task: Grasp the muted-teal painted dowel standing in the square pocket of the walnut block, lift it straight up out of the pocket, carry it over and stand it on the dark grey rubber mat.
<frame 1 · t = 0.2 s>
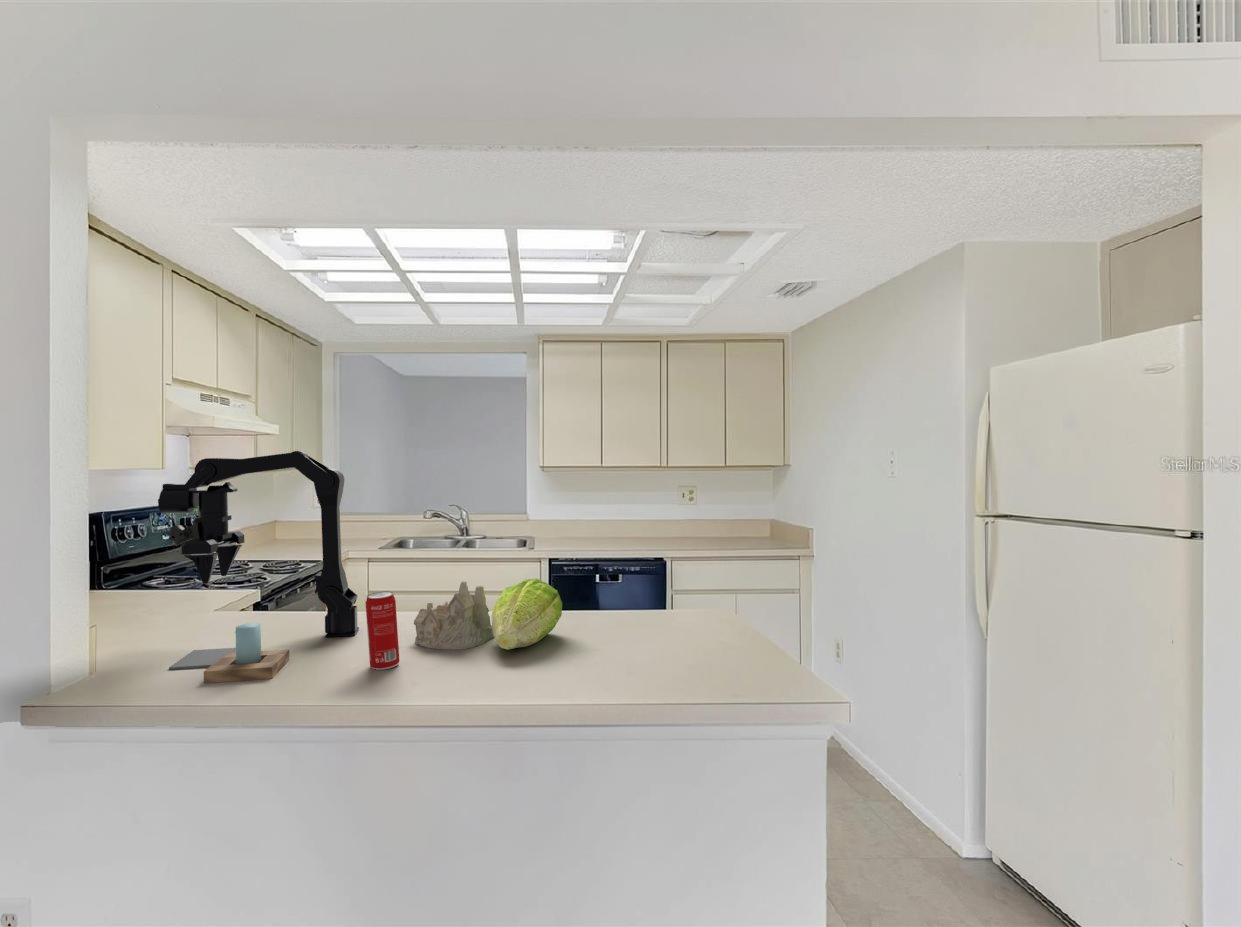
hand: (215, 579, 155), 14 cm above the table, fingers open, 9 cm apart
mat: (213, 658, 142), on the table
lettuce: (523, 644, 153), on the table
peg: (248, 648, 134), in the pocket block
pocket block: (248, 670, 134), on the table
ceramic cottage: (456, 640, 157), on the table
beverage can: (383, 667, 137), on the table
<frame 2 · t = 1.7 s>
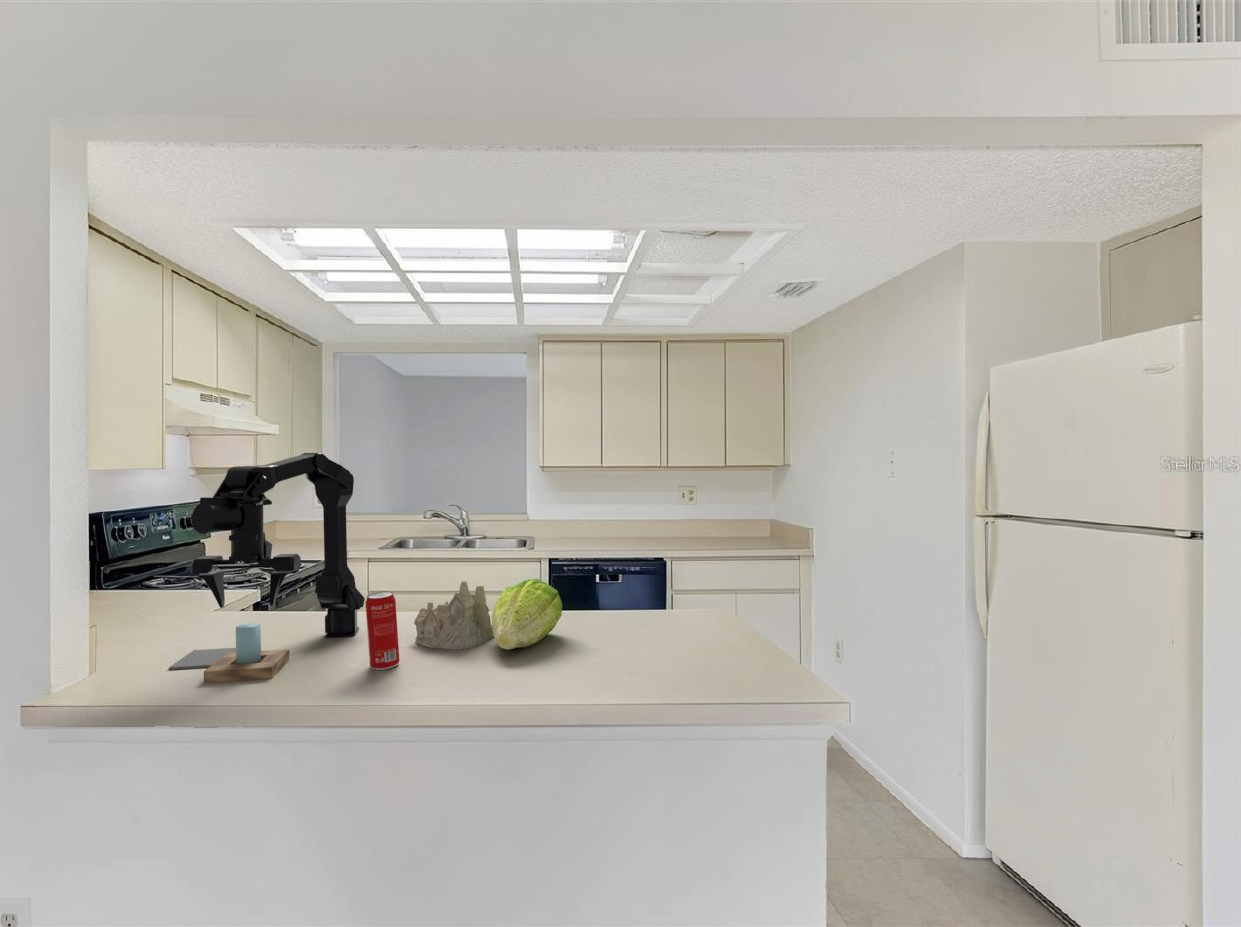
hand: (247, 606, 135), 13 cm above the table, fingers open, 9 cm apart
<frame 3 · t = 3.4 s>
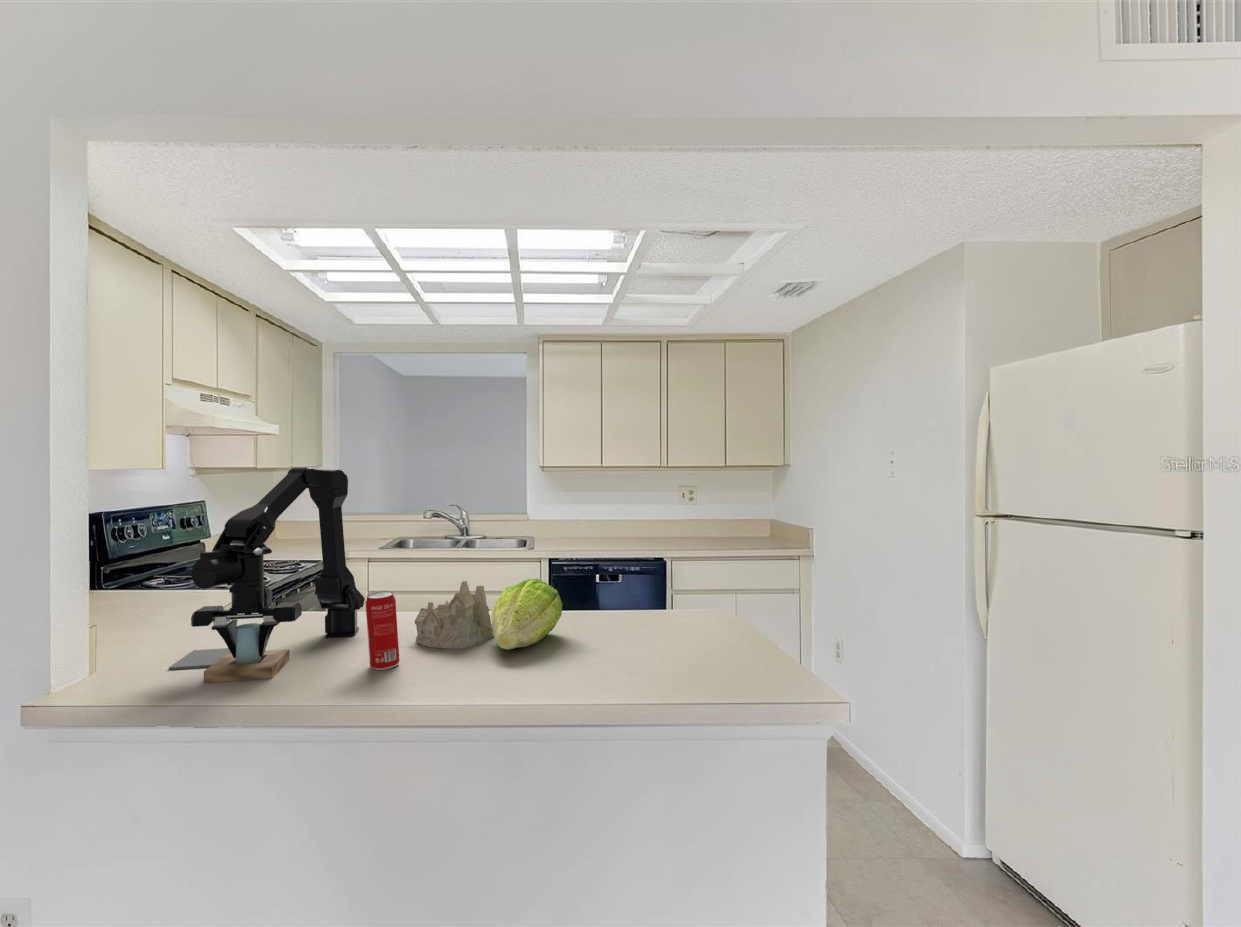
hand: (248, 656, 134), 3 cm above the table, fingers closed on peg, 4 cm apart
peg: (248, 648, 134), in the pocket block, touching gripper
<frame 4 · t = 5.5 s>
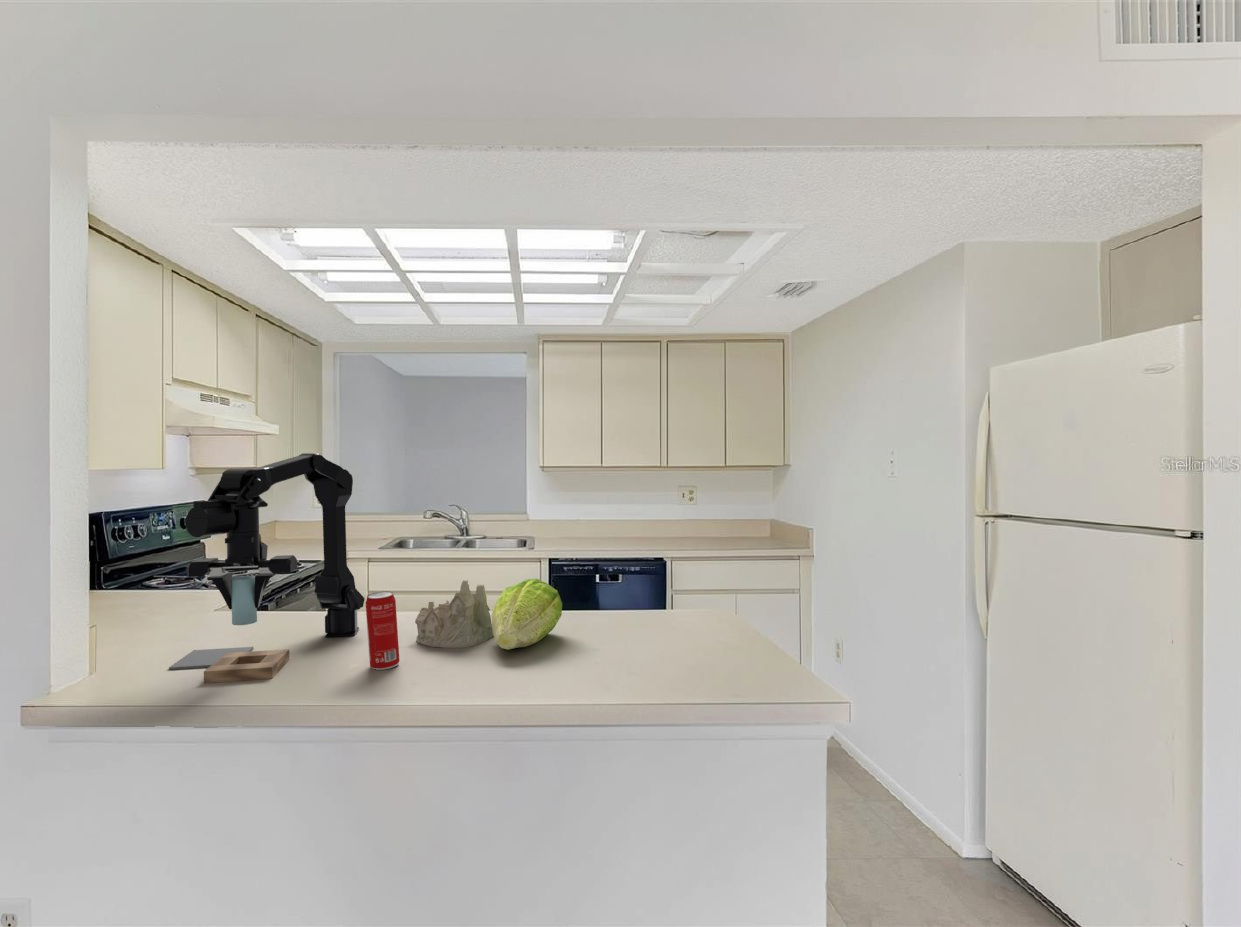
hand: (244, 608, 135), 12 cm above the table, fingers closed on peg, 4 cm apart
peg: (244, 600, 135), point 14 cm above the table, touching gripper
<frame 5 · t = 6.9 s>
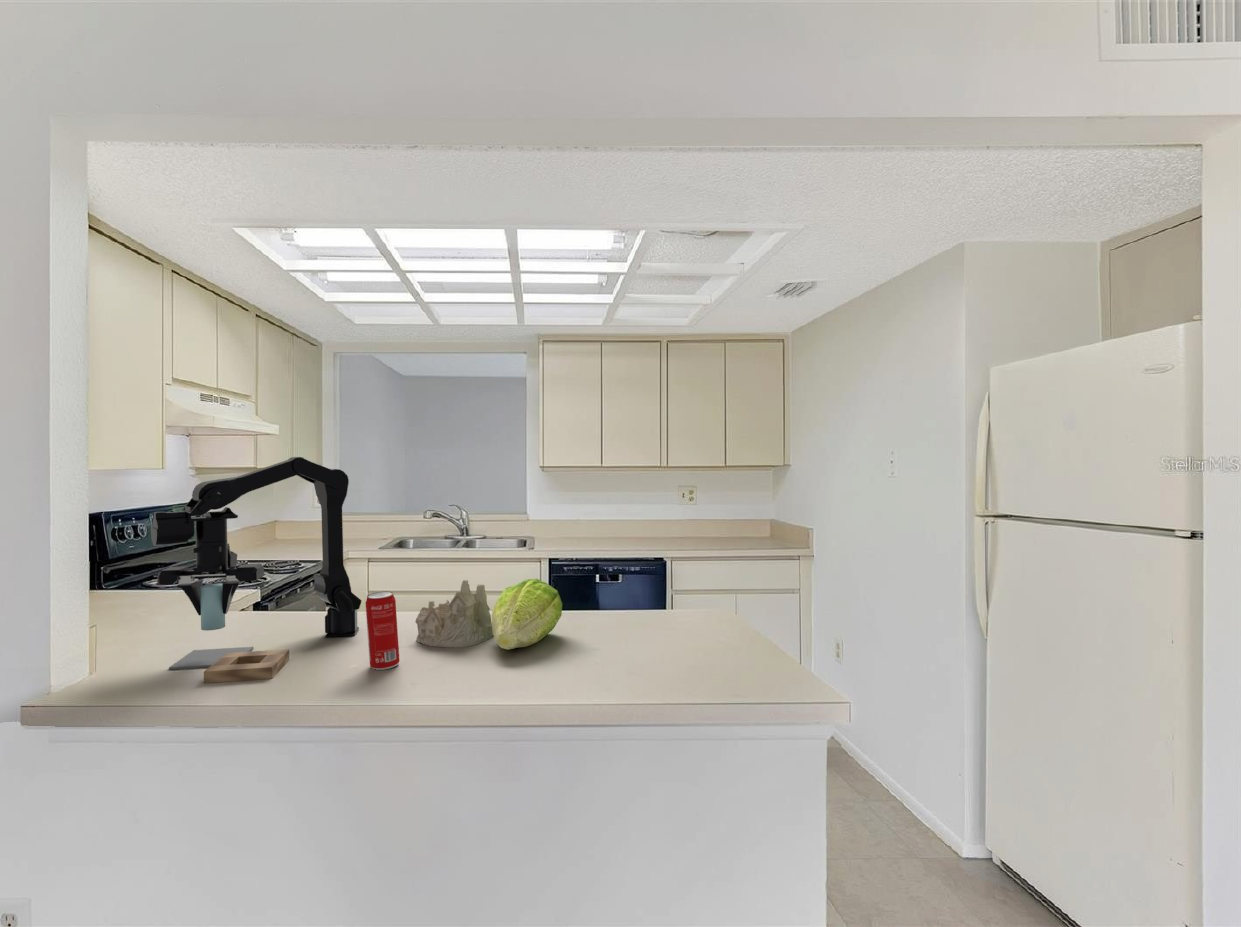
hand: (213, 614, 142), 9 cm above the table, fingers closed on peg, 4 cm apart
peg: (212, 606, 142), point 11 cm above the table, touching gripper
when the fingers open (4 cm above the table, at t = 8.1 s): peg drops 1 cm, resting on mat.
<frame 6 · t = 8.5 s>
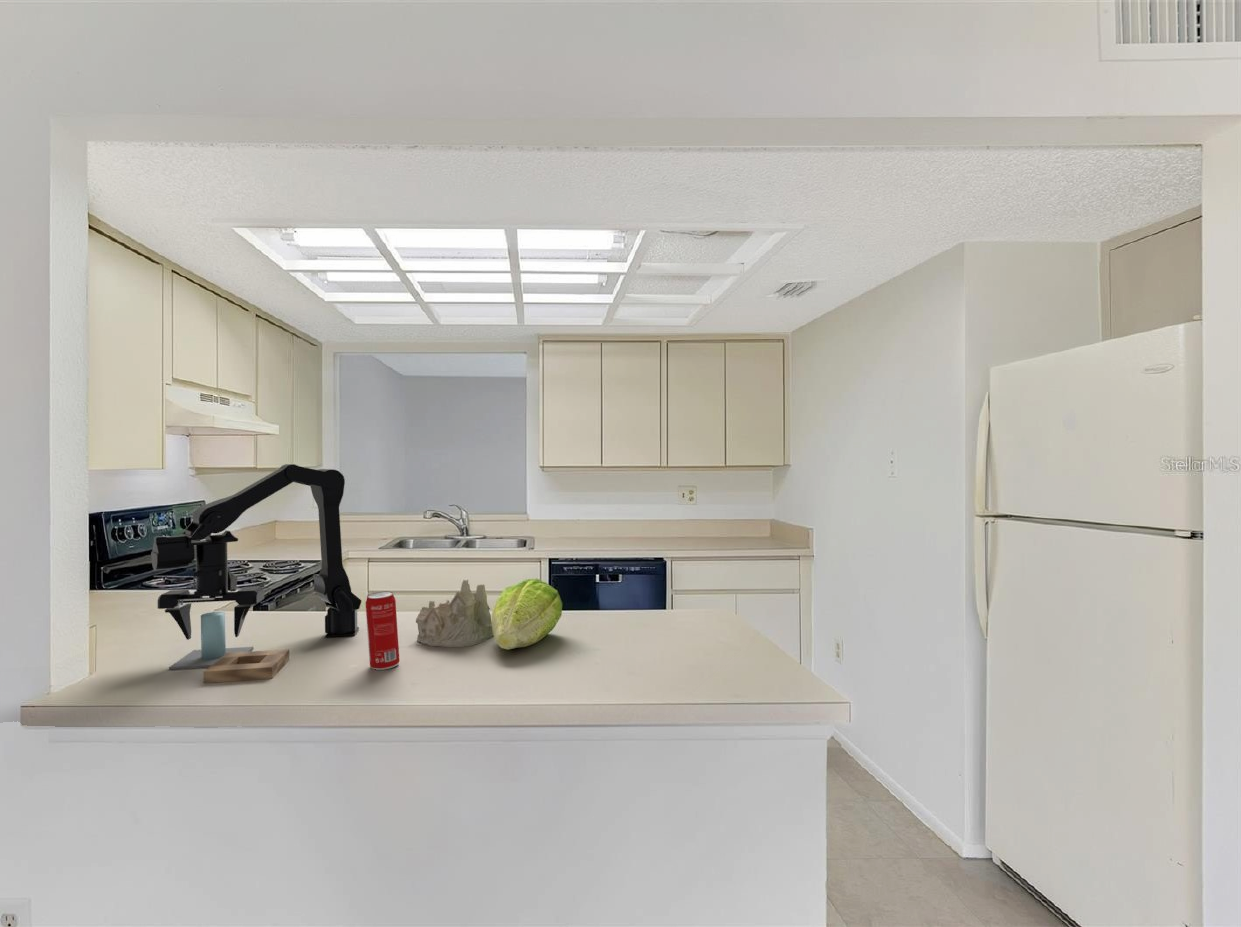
hand: (213, 637, 142), 4 cm above the table, fingers open, 9 cm apart
peg: (213, 635, 142), on the mat
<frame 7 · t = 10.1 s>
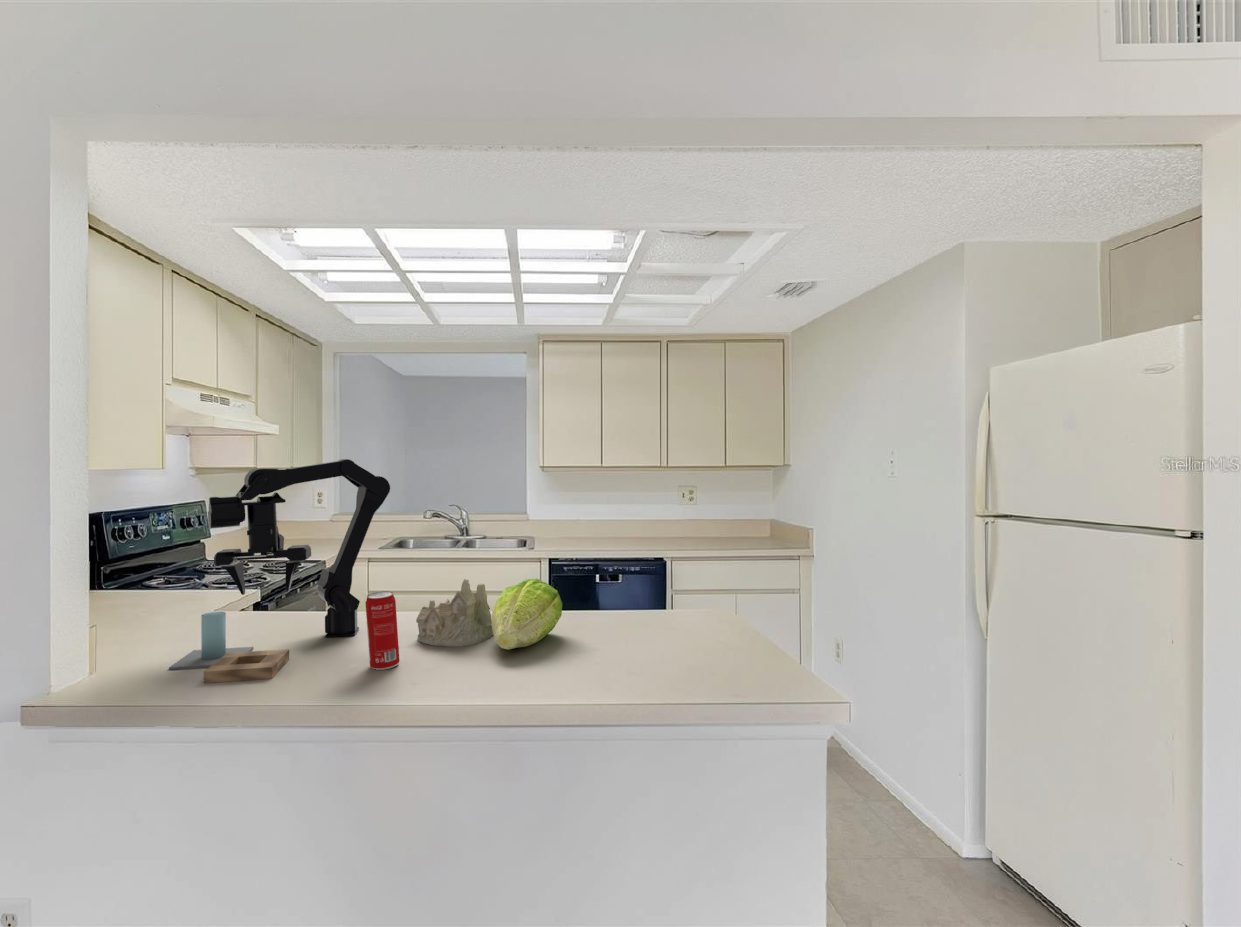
hand: (265, 592, 151), 12 cm above the table, fingers open, 9 cm apart
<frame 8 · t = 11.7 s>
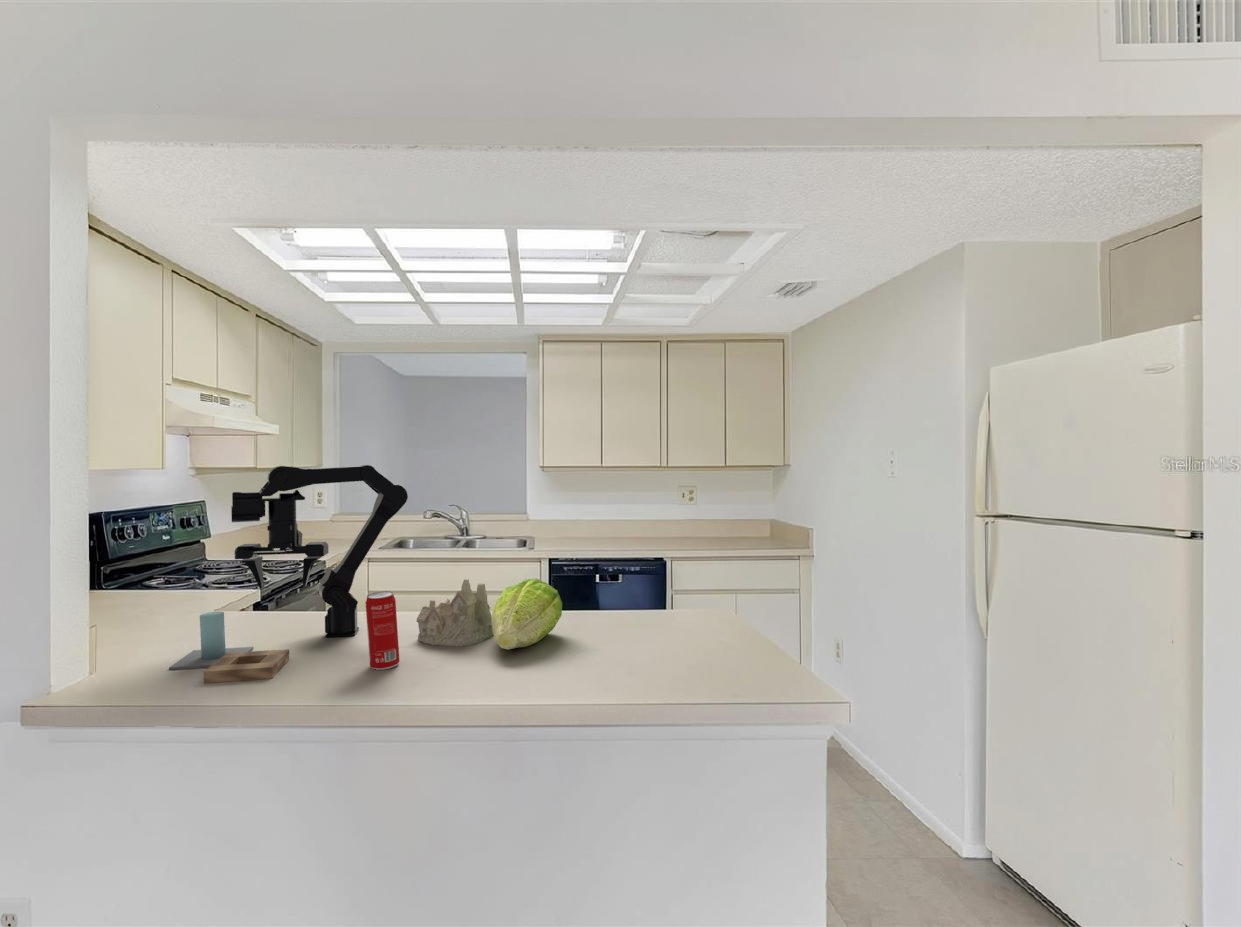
hand: (283, 587, 155), 13 cm above the table, fingers open, 9 cm apart
at the end: peg inside the target area on the mat (0.1 cm from its centre), point 5.1 cm above the mat's base; peg tilted 1°; peg touching mat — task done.
